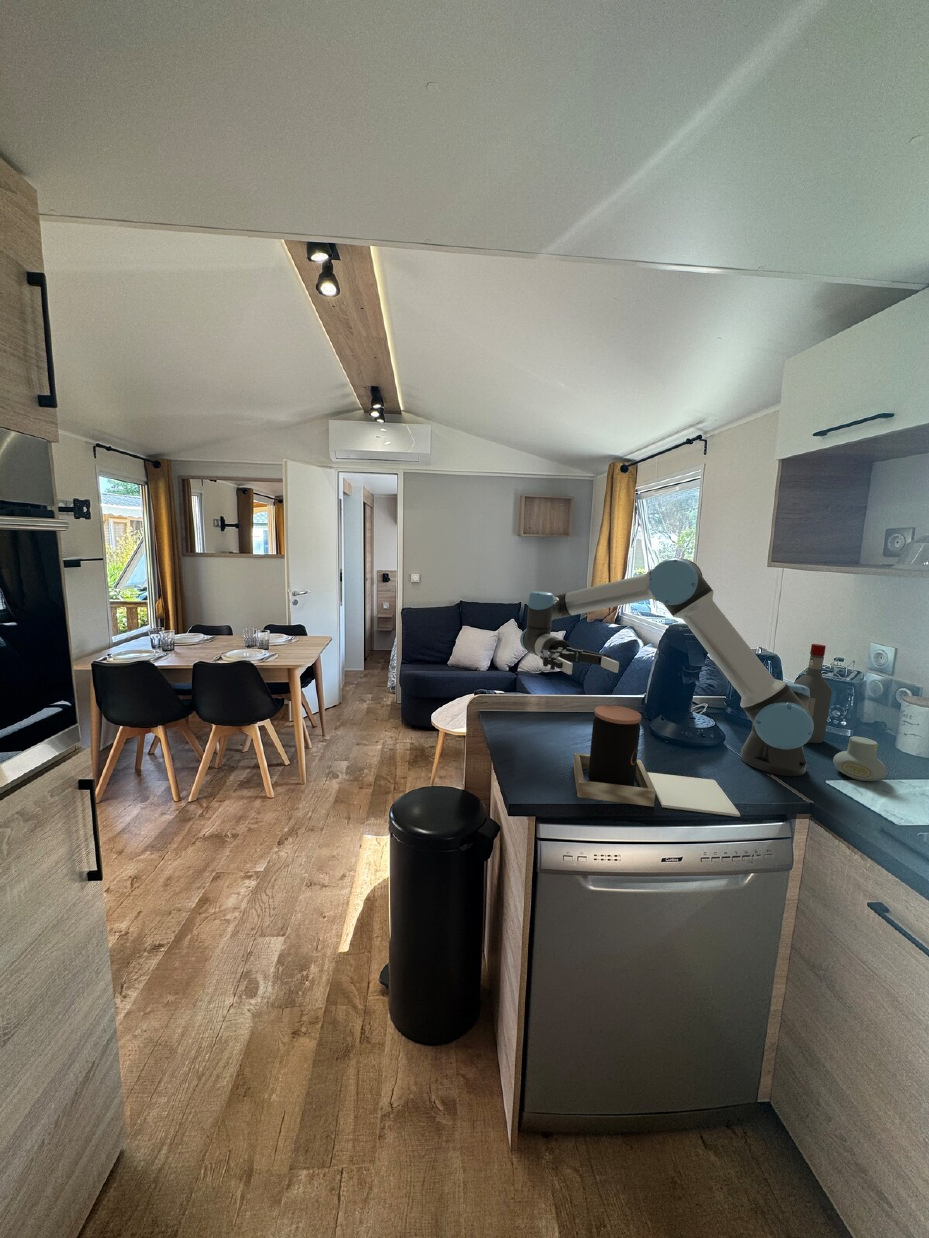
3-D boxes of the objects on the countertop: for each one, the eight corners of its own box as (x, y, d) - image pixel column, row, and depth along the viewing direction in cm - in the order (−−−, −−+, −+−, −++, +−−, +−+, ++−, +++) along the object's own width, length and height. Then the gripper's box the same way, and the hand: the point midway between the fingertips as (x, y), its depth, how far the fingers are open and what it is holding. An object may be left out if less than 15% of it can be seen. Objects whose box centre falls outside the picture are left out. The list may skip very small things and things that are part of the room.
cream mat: (714, 782, 121) (714, 779, 120) (739, 816, 105) (740, 814, 105) (646, 774, 123) (647, 772, 123) (662, 807, 107) (662, 804, 107)
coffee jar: (636, 798, 110) (645, 722, 108) (588, 791, 112) (595, 717, 110) (630, 777, 121) (638, 707, 118) (586, 771, 123) (593, 702, 120)
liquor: (804, 732, 160) (819, 642, 155) (828, 743, 151) (845, 648, 146) (779, 732, 159) (793, 641, 154) (802, 743, 150) (818, 647, 145)
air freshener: (886, 779, 127) (893, 743, 126) (881, 789, 122) (888, 751, 120) (835, 764, 135) (841, 730, 134) (828, 772, 130) (834, 737, 128)
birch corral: (639, 773, 123) (640, 760, 123) (653, 806, 107) (655, 791, 107) (573, 765, 126) (574, 752, 125) (577, 797, 110) (579, 782, 109)
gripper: (588, 661, 147) (634, 681, 127) (512, 663, 138) (549, 684, 119) (590, 636, 145) (637, 652, 126) (514, 637, 137) (551, 654, 117)
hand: (594, 668), depth 122 cm, fingers open, 13 cm apart
